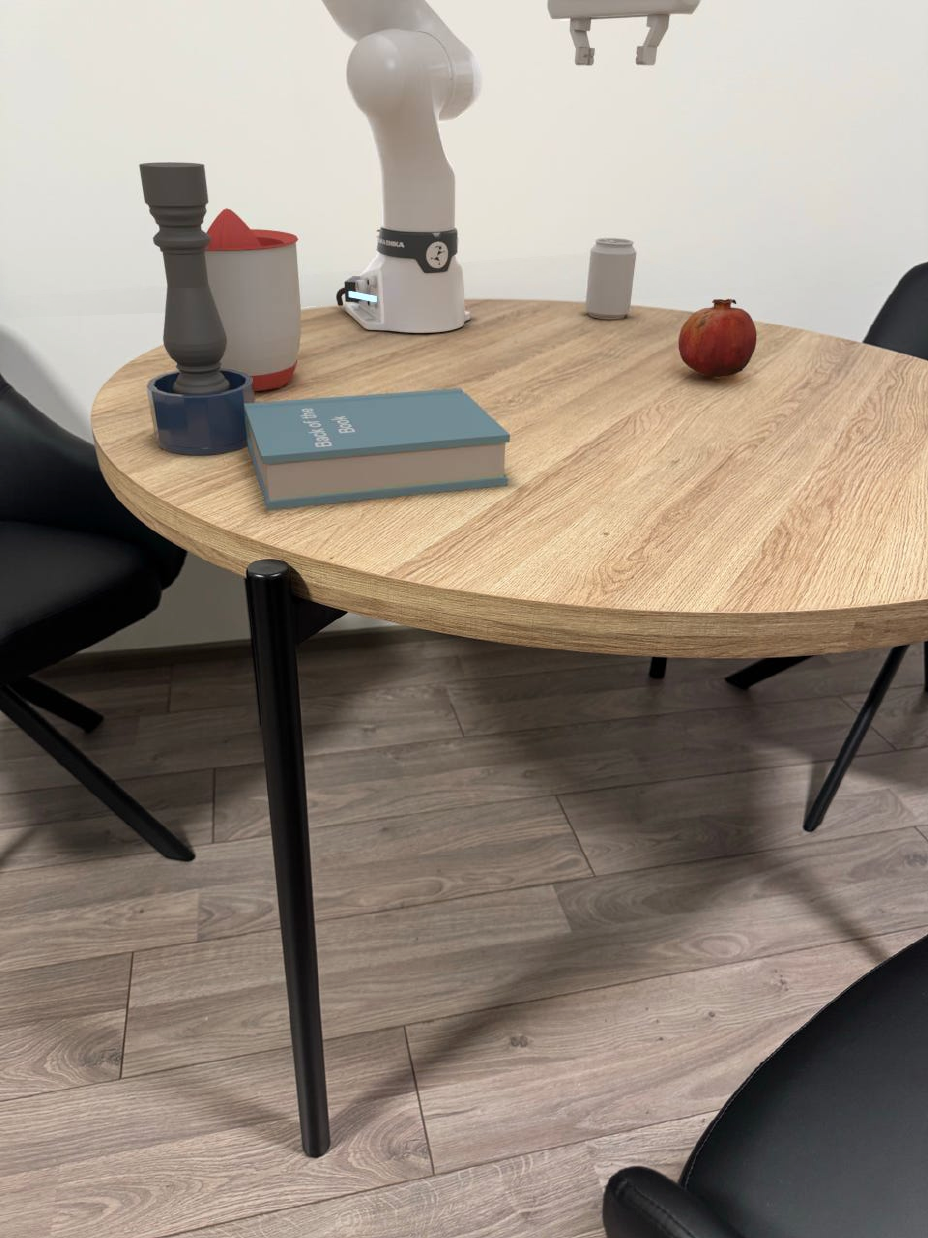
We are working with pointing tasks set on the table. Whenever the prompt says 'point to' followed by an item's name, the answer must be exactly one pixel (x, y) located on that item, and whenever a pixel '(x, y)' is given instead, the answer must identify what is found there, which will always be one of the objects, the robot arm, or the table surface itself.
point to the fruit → (718, 340)
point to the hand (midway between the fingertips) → (613, 65)
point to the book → (372, 447)
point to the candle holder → (186, 275)
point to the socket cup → (200, 415)
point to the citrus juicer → (255, 298)
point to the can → (610, 278)
